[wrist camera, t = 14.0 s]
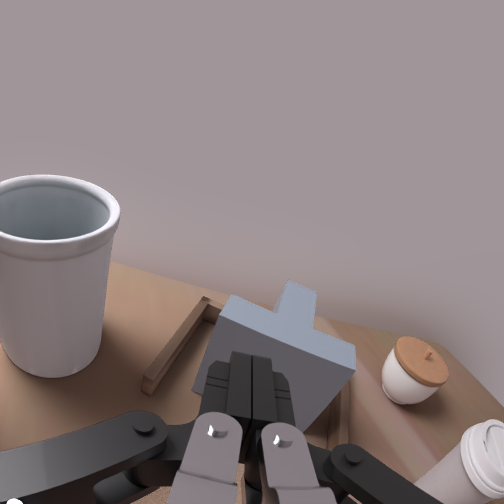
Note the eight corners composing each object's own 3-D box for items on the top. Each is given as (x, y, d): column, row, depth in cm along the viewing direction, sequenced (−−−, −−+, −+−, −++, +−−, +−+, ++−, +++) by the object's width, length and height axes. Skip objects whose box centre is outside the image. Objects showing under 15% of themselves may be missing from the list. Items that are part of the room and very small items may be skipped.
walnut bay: (141, 390, 30) (143, 374, 29) (198, 311, 46) (203, 296, 45) (333, 466, 28) (347, 455, 27) (339, 370, 44) (348, 357, 43)
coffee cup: (391, 473, 28) (475, 400, 22) (440, 498, 24) (526, 433, 18) (366, 530, 20) (474, 468, 14) (424, 554, 17) (531, 496, 10)
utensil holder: (112, 387, 29) (125, 248, 22) (-12, 378, 21) (-50, 231, 14) (103, 301, 40) (119, 182, 33) (7, 292, 33) (3, 169, 25)
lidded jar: (401, 367, 50) (430, 329, 46) (429, 410, 41) (465, 371, 37) (360, 369, 46) (391, 326, 42) (389, 420, 37) (429, 378, 33)
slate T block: (191, 390, 33) (219, 314, 28) (223, 333, 44) (250, 263, 39) (302, 433, 32) (356, 370, 27) (311, 370, 43) (351, 307, 38)
